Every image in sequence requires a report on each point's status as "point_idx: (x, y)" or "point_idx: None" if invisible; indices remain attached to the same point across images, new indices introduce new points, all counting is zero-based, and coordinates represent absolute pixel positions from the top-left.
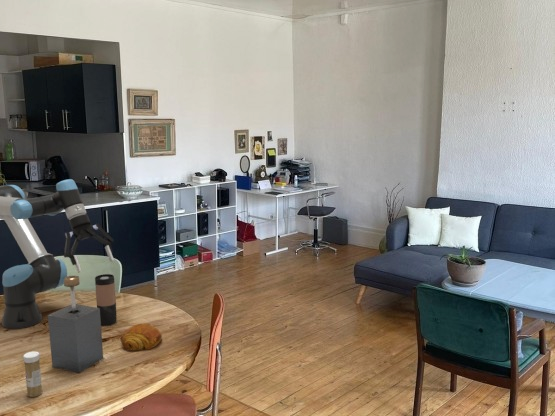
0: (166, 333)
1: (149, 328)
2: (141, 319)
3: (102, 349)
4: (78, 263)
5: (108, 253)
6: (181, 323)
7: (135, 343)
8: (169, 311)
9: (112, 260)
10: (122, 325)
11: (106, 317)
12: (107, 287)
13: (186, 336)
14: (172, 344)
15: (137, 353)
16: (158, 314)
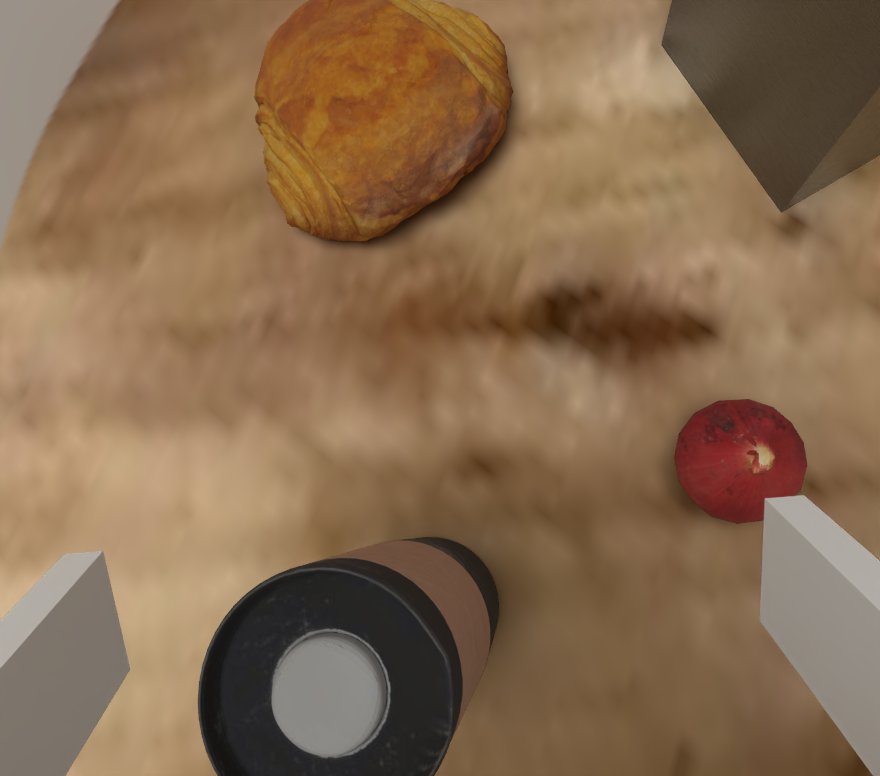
0: (203, 180)
1: (311, 50)
2: (216, 506)
3: (672, 3)
4: (867, 581)
5: (27, 724)
6: (57, 273)
7: (453, 8)
8: (4, 524)
9: (99, 553)
10: (366, 484)
11: (451, 545)
12: (365, 556)
13: (137, 74)
14: (252, 16)
15: (465, 7)
16: (86, 520)
